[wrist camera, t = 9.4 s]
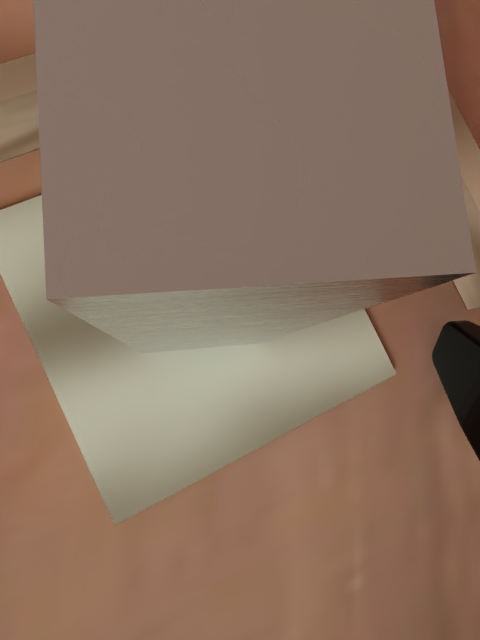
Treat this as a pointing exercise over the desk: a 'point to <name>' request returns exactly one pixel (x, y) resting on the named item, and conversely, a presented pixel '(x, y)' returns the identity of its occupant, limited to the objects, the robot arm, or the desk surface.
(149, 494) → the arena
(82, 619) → the desk surface
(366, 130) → the block
